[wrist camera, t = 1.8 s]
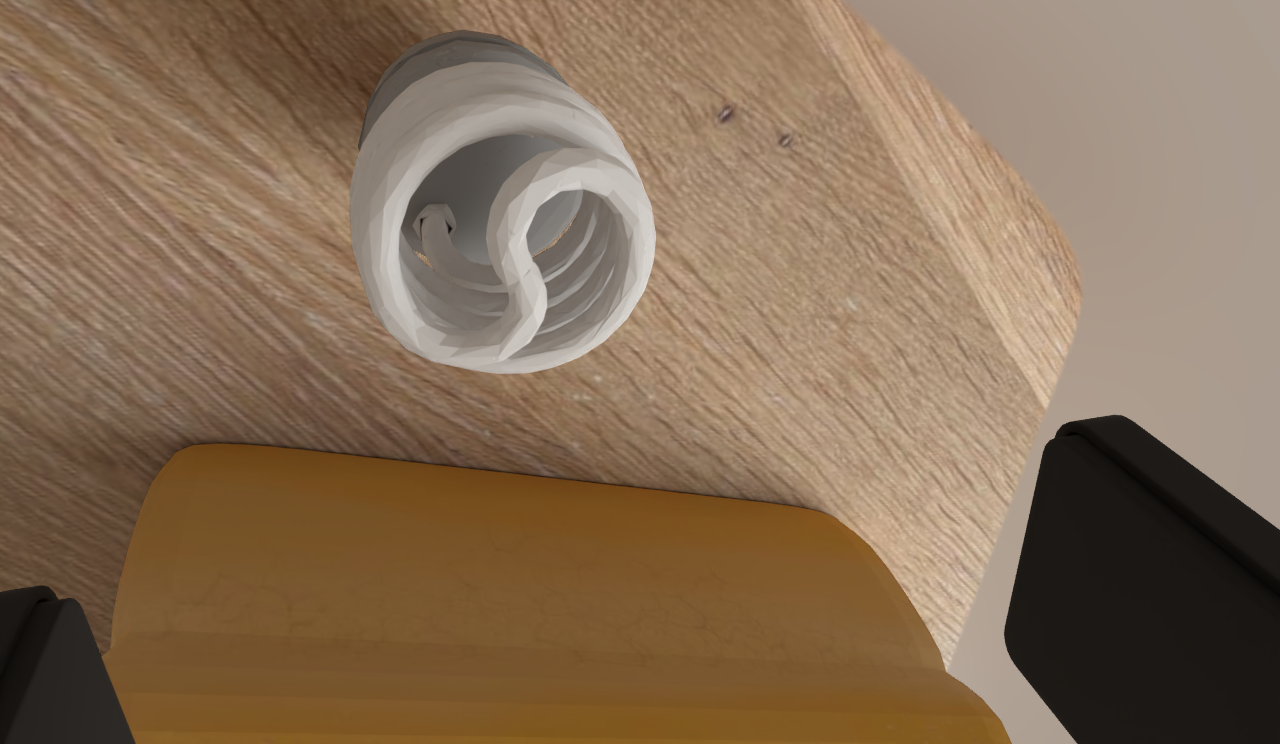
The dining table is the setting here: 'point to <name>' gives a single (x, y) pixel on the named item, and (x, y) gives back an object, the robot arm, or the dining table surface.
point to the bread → (508, 614)
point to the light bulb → (495, 209)
